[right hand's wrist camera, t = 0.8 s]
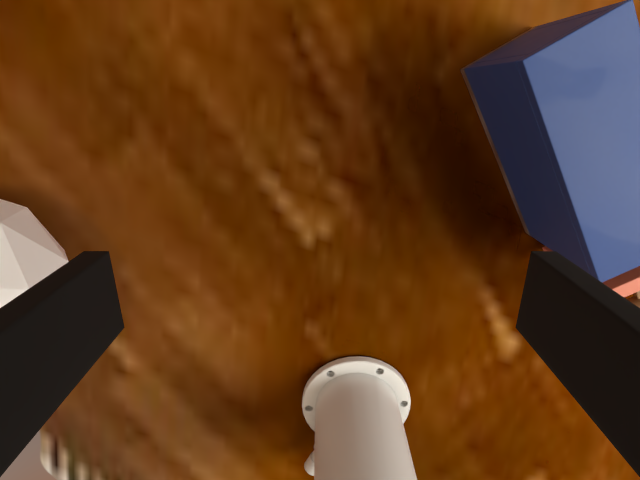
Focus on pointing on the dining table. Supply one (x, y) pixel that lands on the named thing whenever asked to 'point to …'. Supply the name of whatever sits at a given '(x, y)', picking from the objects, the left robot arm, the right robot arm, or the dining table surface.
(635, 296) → the drawer
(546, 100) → the cabinet
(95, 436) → the dining table surface
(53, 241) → the sphere
